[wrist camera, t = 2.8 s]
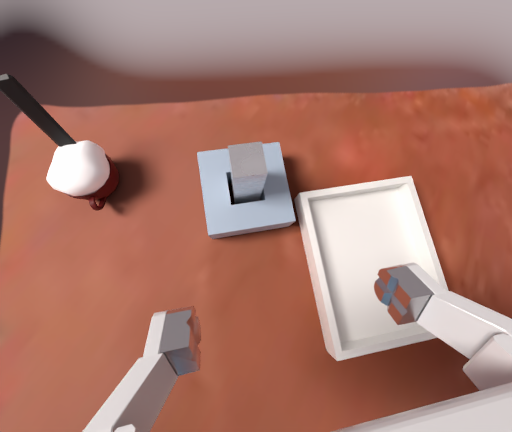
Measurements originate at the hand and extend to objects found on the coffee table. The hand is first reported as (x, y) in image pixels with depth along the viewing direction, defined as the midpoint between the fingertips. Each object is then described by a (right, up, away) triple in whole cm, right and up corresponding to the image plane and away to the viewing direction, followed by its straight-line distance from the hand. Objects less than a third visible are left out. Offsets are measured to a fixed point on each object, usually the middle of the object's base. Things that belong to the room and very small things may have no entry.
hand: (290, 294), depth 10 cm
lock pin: (-3, +6, +21) cm, 22 cm away
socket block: (-3, +6, +20) cm, 22 cm away
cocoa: (-22, +8, +20) cm, 30 cm away
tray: (+13, -2, +20) cm, 24 cm away
